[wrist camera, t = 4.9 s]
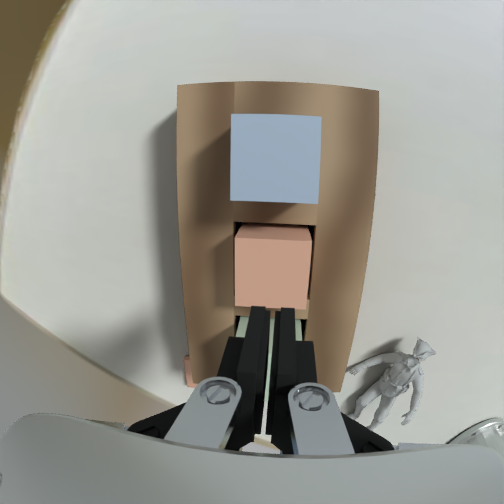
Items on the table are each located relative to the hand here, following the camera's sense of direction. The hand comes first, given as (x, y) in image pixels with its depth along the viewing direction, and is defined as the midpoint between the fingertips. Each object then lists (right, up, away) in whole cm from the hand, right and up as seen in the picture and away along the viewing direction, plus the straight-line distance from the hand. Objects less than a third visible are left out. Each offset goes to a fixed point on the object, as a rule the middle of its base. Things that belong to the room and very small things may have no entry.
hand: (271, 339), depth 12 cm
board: (+1, +4, +11) cm, 12 cm away
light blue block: (+1, +10, +7) cm, 12 cm away
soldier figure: (+12, -9, +15) cm, 21 cm away
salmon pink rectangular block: (+1, +4, +11) cm, 12 cm away
